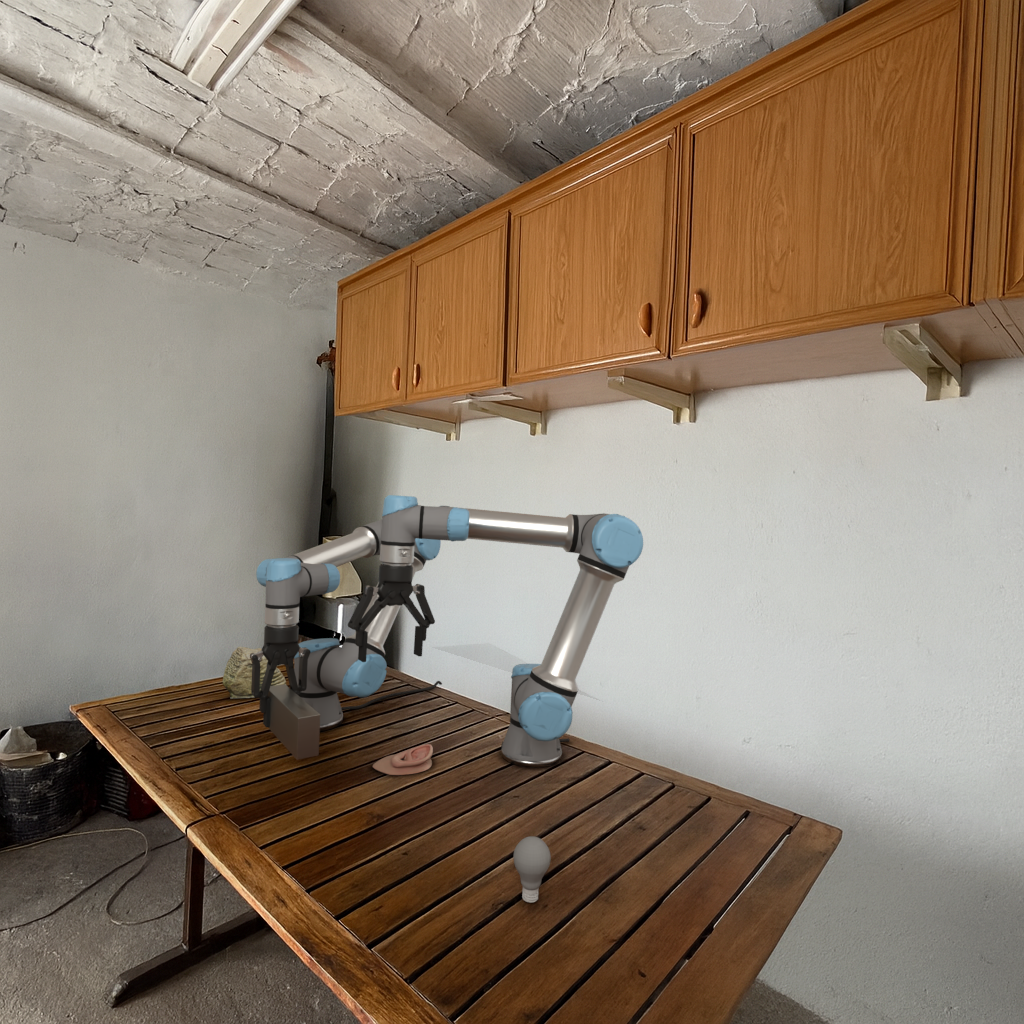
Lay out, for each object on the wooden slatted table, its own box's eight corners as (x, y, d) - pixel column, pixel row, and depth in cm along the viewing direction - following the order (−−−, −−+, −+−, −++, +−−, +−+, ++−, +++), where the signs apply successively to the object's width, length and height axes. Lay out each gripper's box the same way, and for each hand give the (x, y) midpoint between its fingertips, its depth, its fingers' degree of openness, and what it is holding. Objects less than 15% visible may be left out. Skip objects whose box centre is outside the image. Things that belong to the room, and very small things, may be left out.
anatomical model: (367, 754, 146) (387, 737, 157) (366, 771, 146) (386, 752, 158) (422, 762, 144) (438, 743, 155) (421, 779, 144) (437, 759, 155)
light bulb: (510, 888, 105) (512, 829, 104) (546, 888, 105) (548, 829, 105) (513, 912, 99) (515, 849, 98) (551, 912, 99) (554, 849, 99)
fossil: (218, 695, 195) (220, 647, 195) (278, 685, 208) (279, 640, 207) (228, 703, 189) (230, 653, 188) (289, 692, 201) (290, 645, 201)
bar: (264, 723, 150) (265, 686, 150) (283, 719, 153) (285, 684, 153) (296, 760, 130) (298, 718, 130) (318, 755, 133) (320, 714, 133)
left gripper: (246, 631, 140) (242, 735, 140) (324, 624, 150) (320, 721, 151) (237, 624, 146) (234, 725, 146) (313, 618, 156) (310, 712, 157)
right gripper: (349, 566, 132) (343, 667, 132) (452, 565, 147) (447, 656, 147) (336, 562, 138) (330, 658, 138) (437, 561, 153) (431, 649, 153)
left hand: (278, 723), depth 149 cm, fingers closed on bar, 5 cm apart
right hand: (390, 657), depth 143 cm, fingers open, 13 cm apart
